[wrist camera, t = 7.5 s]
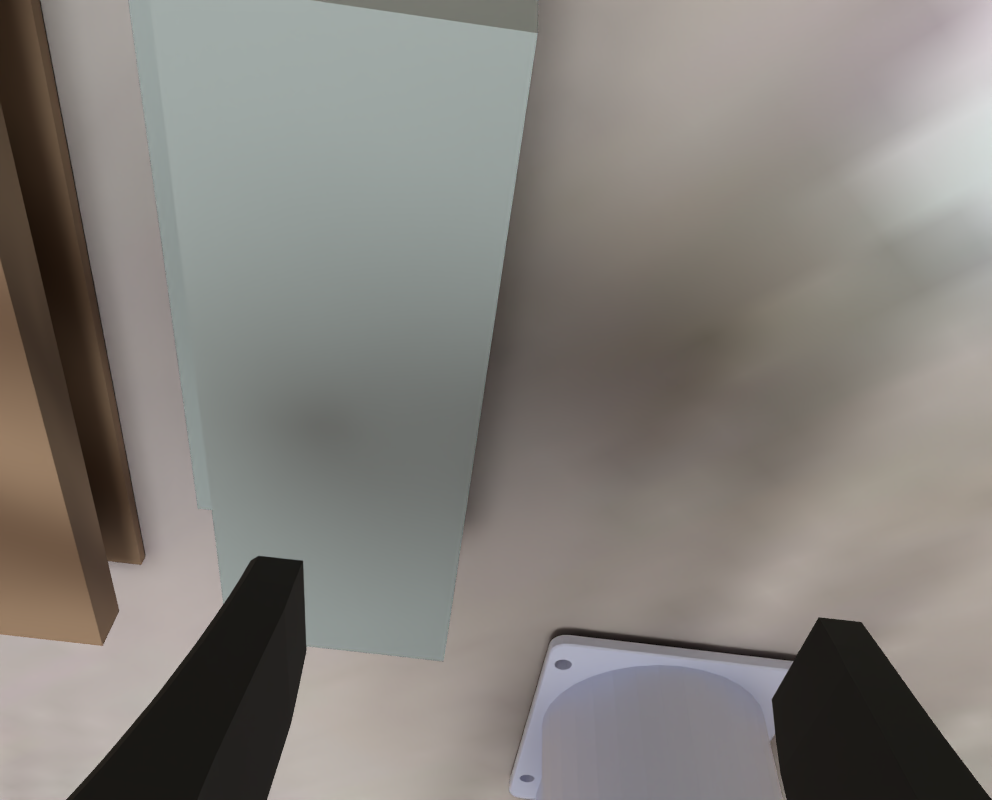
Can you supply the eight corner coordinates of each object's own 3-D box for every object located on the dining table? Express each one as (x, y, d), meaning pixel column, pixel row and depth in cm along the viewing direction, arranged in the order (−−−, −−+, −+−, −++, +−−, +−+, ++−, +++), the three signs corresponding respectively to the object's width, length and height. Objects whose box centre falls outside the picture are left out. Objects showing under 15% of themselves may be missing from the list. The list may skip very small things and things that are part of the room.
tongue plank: (458, 519, 23) (443, 661, 20) (220, 491, 23) (161, 630, 19) (538, -41, 14) (537, 33, 11) (154, -99, 14) (26, -42, 11)
